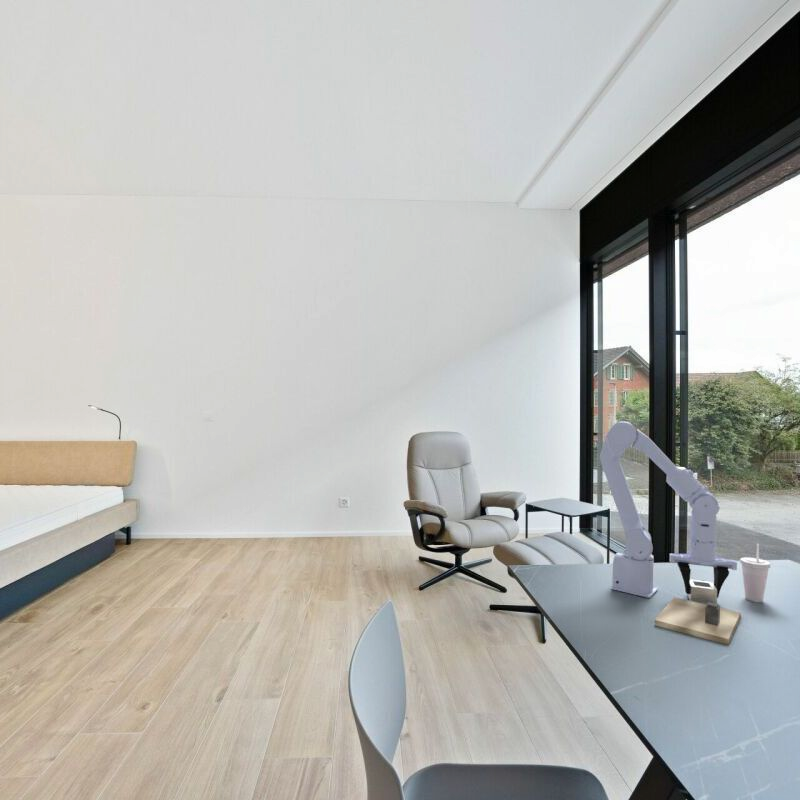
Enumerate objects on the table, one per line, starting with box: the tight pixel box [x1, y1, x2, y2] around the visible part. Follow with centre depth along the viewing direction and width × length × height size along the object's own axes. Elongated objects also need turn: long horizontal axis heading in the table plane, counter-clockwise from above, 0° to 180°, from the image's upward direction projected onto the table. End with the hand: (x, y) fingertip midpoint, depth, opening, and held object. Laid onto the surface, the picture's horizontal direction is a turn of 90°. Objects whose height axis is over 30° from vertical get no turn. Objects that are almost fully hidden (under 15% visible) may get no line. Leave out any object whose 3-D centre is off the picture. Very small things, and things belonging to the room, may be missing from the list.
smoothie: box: [739, 543, 771, 603], centre depth 135 cm, size 6×6×14 cm
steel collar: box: [686, 579, 718, 605], centre depth 133 cm, size 6×6×4 cm
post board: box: [654, 596, 742, 646], centre depth 120 cm, size 14×18×5 cm
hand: (701, 594), depth 133 cm, fingers closed on steel collar, 6 cm apart
